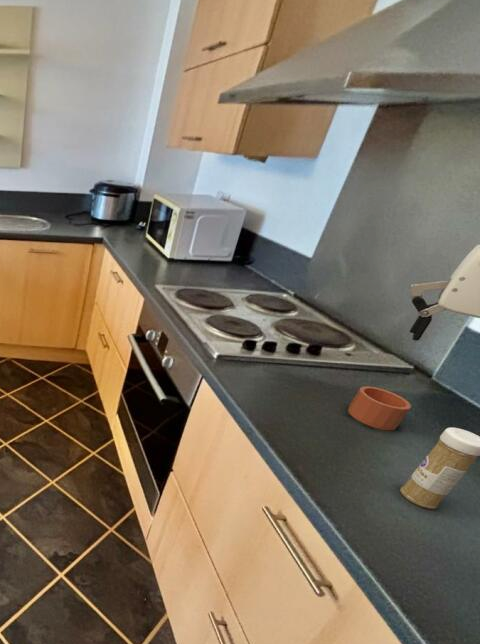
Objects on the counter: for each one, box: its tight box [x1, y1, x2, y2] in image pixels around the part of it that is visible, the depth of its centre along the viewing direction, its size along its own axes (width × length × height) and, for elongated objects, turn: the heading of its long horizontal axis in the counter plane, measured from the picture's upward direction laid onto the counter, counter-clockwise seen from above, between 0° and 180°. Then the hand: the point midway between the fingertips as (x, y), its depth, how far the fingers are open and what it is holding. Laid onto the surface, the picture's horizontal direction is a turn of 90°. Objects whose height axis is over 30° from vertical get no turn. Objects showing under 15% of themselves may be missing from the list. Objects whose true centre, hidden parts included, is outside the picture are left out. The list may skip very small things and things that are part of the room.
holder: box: [347, 385, 412, 432], centre depth 87 cm, size 8×8×6 cm
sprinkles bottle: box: [400, 427, 480, 510], centre depth 65 cm, size 5×5×14 cm
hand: (456, 349), depth 66 cm, fingers open, 9 cm apart
